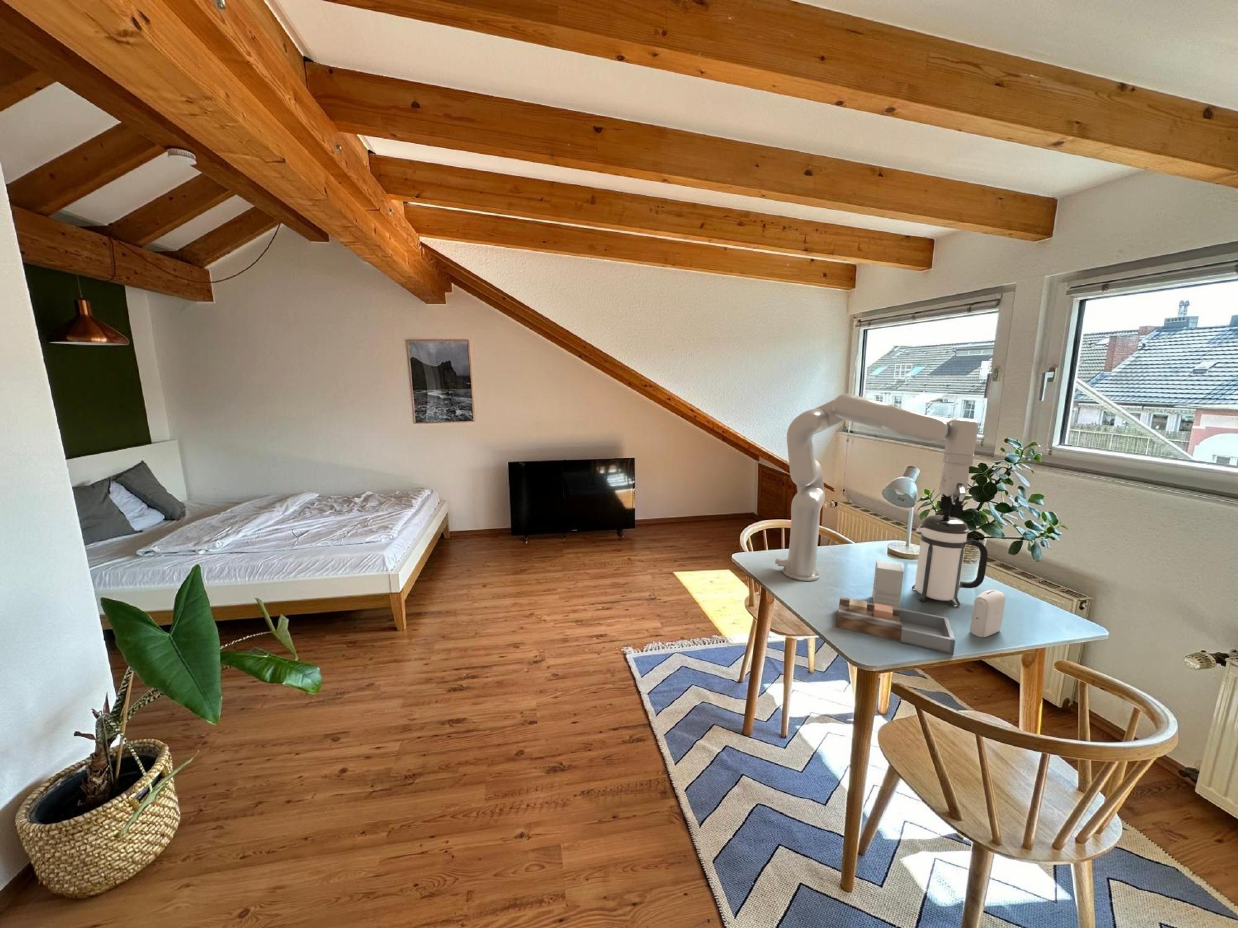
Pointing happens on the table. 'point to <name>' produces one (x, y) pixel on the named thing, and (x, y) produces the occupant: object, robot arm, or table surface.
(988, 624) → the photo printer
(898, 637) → the slot block
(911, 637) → the tray
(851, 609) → the beige block
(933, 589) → the coffee press
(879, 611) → the salmon orange block
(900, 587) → the supplement box
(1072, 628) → the table surface
